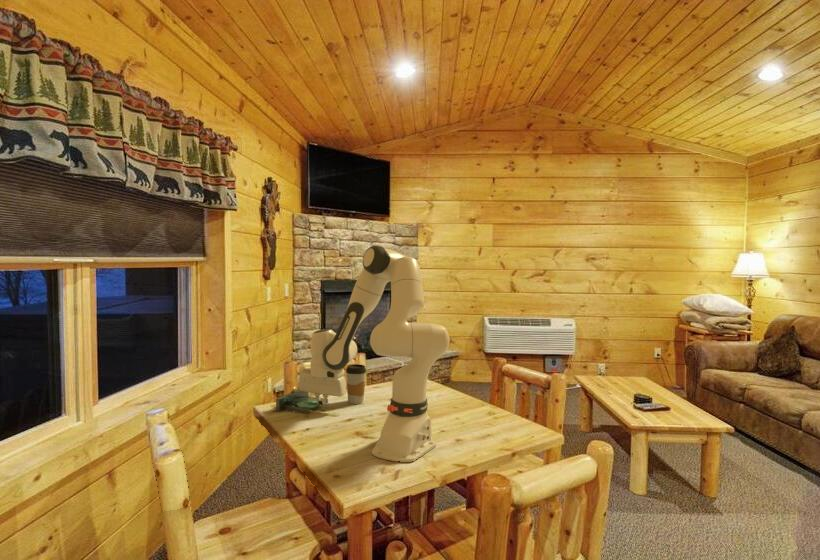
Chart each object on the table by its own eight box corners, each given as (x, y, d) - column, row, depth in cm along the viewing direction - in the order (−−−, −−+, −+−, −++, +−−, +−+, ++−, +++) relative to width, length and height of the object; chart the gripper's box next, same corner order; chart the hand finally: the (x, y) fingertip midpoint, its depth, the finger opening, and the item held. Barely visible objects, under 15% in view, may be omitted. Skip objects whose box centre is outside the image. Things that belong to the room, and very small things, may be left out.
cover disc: (311, 412, 175) (311, 406, 175) (289, 409, 178) (289, 403, 178) (324, 404, 184) (324, 398, 184) (303, 402, 188) (303, 396, 188)
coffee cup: (355, 397, 194) (355, 363, 194) (369, 401, 189) (370, 366, 189) (341, 402, 187) (341, 366, 187) (356, 406, 183) (356, 369, 182)
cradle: (303, 415, 170) (303, 397, 170) (275, 411, 175) (275, 393, 175) (331, 400, 189) (331, 384, 189) (305, 397, 194) (305, 381, 193)
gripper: (294, 369, 179) (294, 403, 180) (340, 374, 172) (339, 410, 173) (304, 365, 185) (303, 399, 186) (348, 370, 178) (347, 405, 179)
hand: (321, 404), depth 179 cm, fingers closed
